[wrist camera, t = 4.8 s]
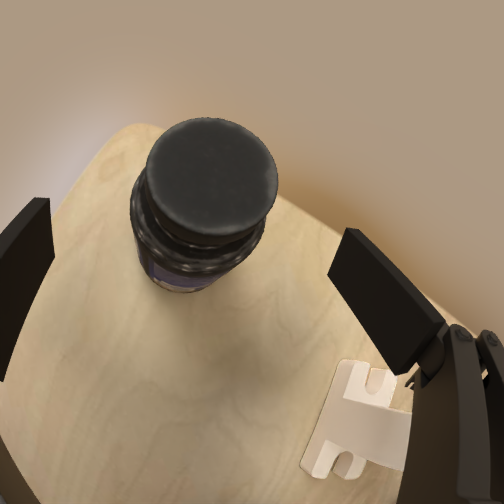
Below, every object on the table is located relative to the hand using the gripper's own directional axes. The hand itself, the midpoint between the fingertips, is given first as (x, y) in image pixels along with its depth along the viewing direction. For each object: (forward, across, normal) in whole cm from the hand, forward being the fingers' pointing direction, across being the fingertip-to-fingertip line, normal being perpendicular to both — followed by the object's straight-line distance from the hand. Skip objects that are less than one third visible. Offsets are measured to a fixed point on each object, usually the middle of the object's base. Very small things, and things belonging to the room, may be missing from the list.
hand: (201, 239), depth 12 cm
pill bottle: (+7, 0, -5) cm, 8 cm away
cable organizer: (-2, +13, -14) cm, 19 cm away
